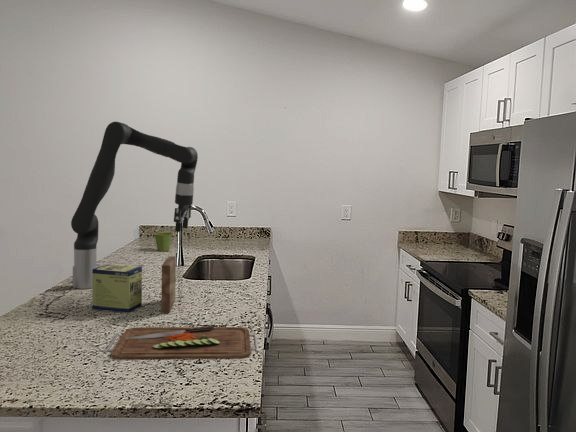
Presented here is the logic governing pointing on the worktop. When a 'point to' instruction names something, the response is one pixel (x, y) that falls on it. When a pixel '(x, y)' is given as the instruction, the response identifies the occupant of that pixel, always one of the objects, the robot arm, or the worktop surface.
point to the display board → (168, 284)
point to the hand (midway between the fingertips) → (181, 229)
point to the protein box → (117, 288)
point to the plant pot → (163, 241)
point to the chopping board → (183, 343)
